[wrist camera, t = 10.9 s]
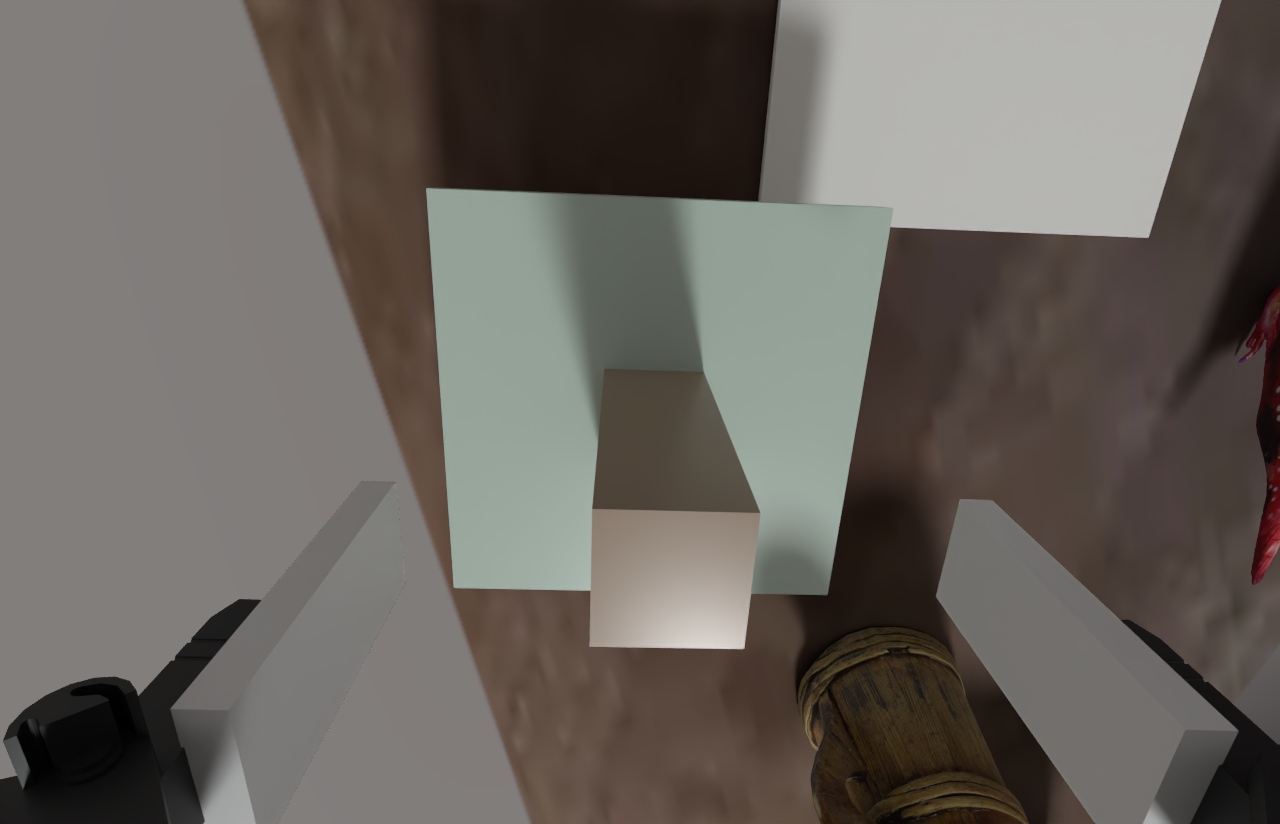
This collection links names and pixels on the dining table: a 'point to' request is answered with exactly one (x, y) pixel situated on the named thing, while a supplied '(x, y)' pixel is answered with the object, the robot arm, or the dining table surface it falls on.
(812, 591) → the lid
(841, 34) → the mat
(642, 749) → the dining table surface
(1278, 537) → the decorative bird figurine
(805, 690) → the wooden mug
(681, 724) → the dining table surface
